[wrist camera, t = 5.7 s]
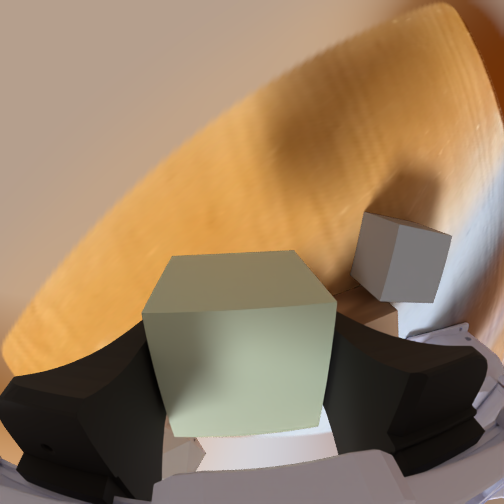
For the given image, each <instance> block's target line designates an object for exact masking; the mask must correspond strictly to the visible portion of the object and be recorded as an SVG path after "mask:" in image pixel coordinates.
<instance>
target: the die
mask: <svg viewBox="0 0 504 504" xmlns="http://www.w3.org/2000/svg"><path fill="white" fill-rule="evenodd" d="M205 454H206V452H205V451H204V450H203V448H202V446H201V445H200V443H199V441H198V440H197V438H196V437H174V434H173V431H172V428H171V425H170V422H169V419H168V416H167V415H166V421H165V427H164V440H163V457H162V480H164V479H166V478H168V477H170V476H172V475H174V474H177V473H189V472H196V470H197V468H198V466H199V465H200V463H201V461H202V459H203V458H204V456H205Z"/></svg>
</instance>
